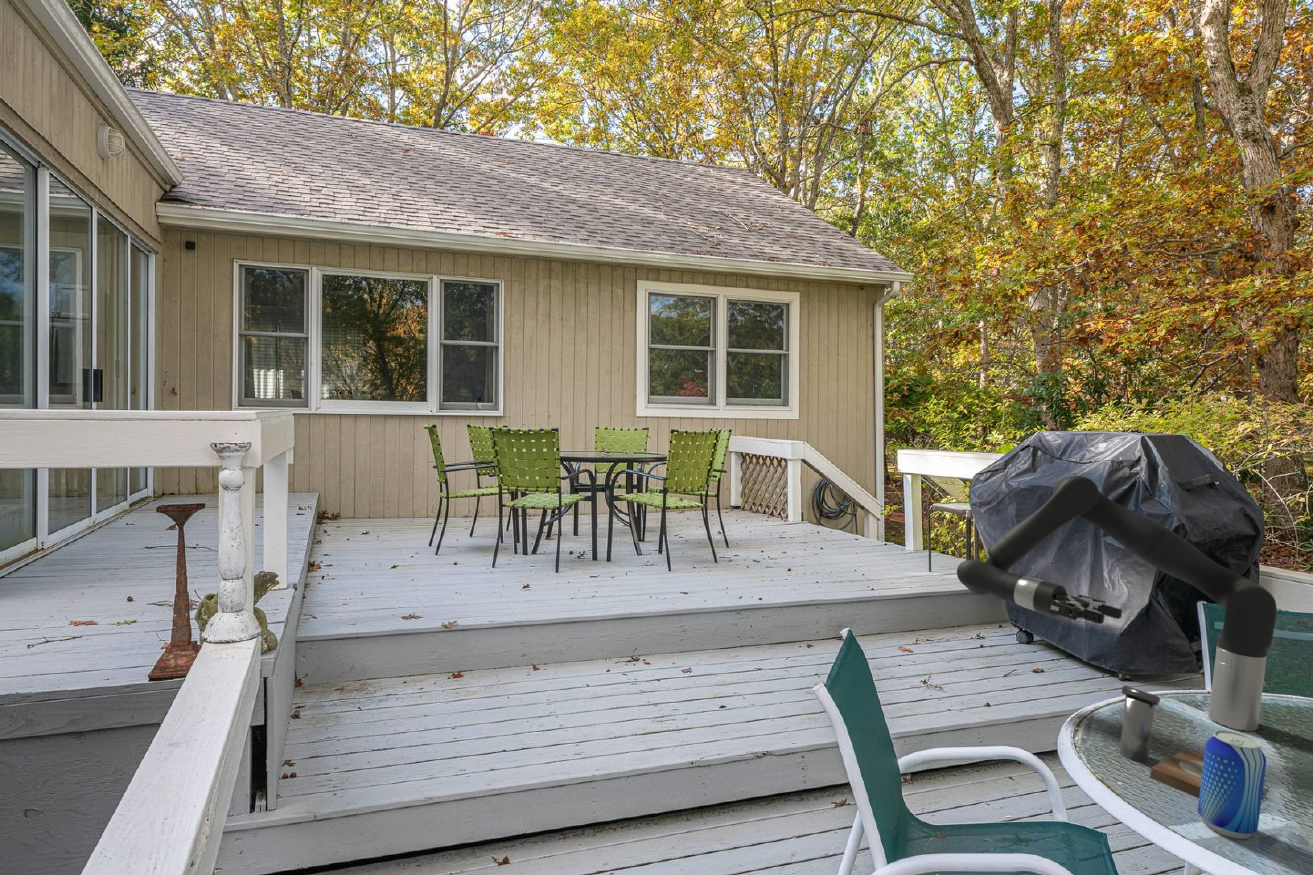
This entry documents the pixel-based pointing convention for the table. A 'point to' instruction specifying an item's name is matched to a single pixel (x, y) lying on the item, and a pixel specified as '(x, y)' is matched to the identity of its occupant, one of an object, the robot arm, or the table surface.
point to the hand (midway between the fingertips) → (1112, 616)
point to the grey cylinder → (1137, 724)
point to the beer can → (1232, 784)
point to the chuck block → (1181, 771)
